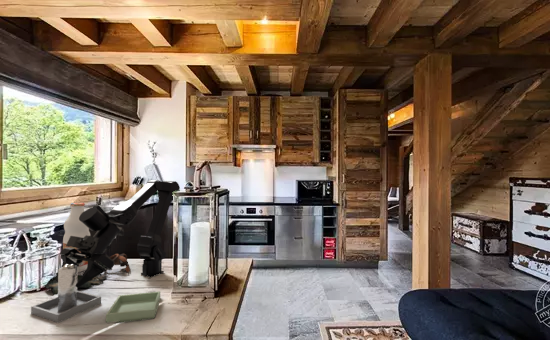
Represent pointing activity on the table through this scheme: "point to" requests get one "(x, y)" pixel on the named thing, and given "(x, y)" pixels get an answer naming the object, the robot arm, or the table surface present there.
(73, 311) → the tray
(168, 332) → the table surface
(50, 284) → the decorative rock
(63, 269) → the pebble canister
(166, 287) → the table surface
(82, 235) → the fruit juice
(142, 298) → the tray
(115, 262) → the brown arched figure
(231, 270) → the table surface
